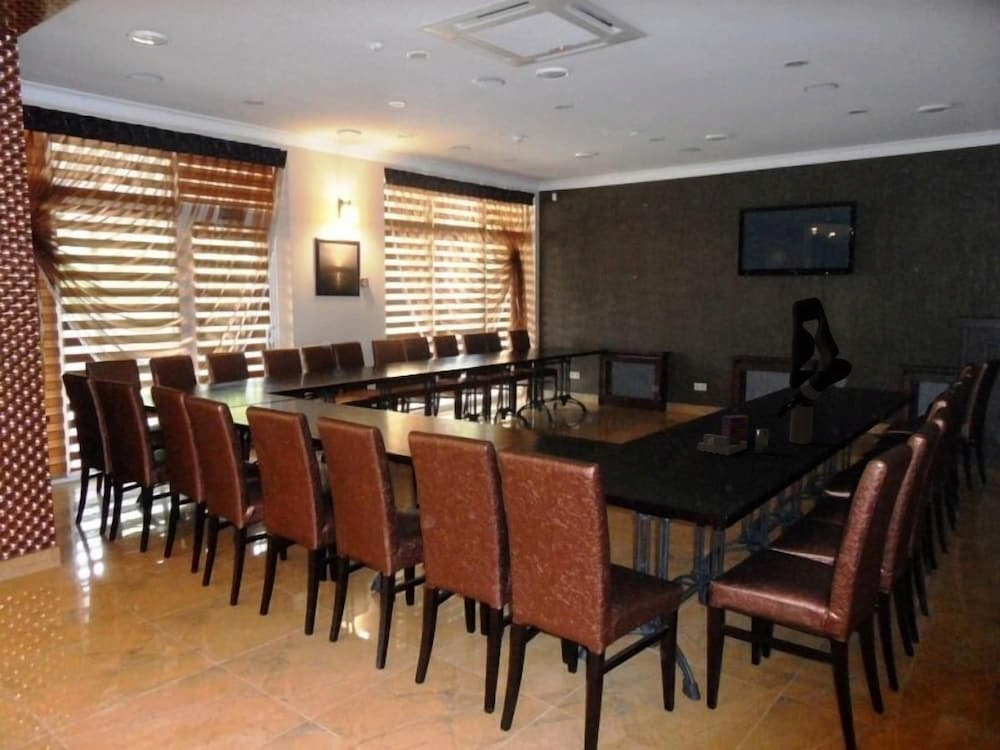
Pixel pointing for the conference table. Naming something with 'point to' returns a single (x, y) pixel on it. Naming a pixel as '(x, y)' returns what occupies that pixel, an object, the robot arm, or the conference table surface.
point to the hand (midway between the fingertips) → (784, 412)
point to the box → (735, 426)
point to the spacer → (761, 441)
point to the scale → (721, 444)
